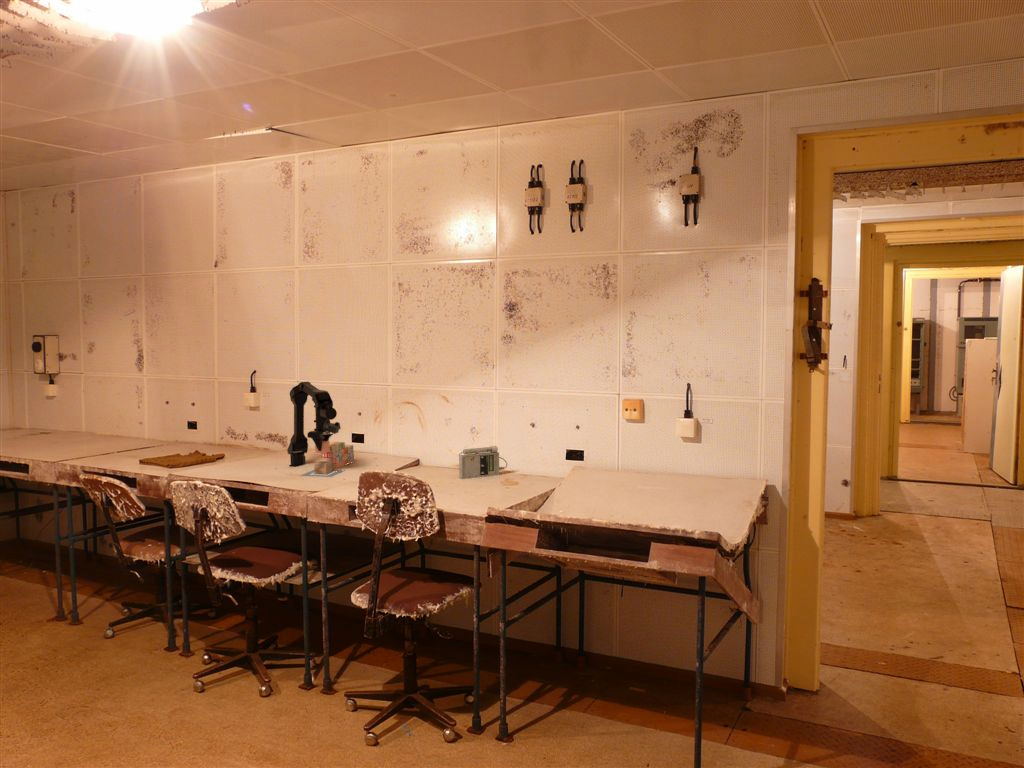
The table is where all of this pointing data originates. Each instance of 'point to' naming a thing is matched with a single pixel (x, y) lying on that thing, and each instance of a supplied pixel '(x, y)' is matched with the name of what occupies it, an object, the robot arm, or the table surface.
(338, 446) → the stack of blocks
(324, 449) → the terracotta cube
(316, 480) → the table surface
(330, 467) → the walnut base block
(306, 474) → the board
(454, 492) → the table surface
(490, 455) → the geiger counter
